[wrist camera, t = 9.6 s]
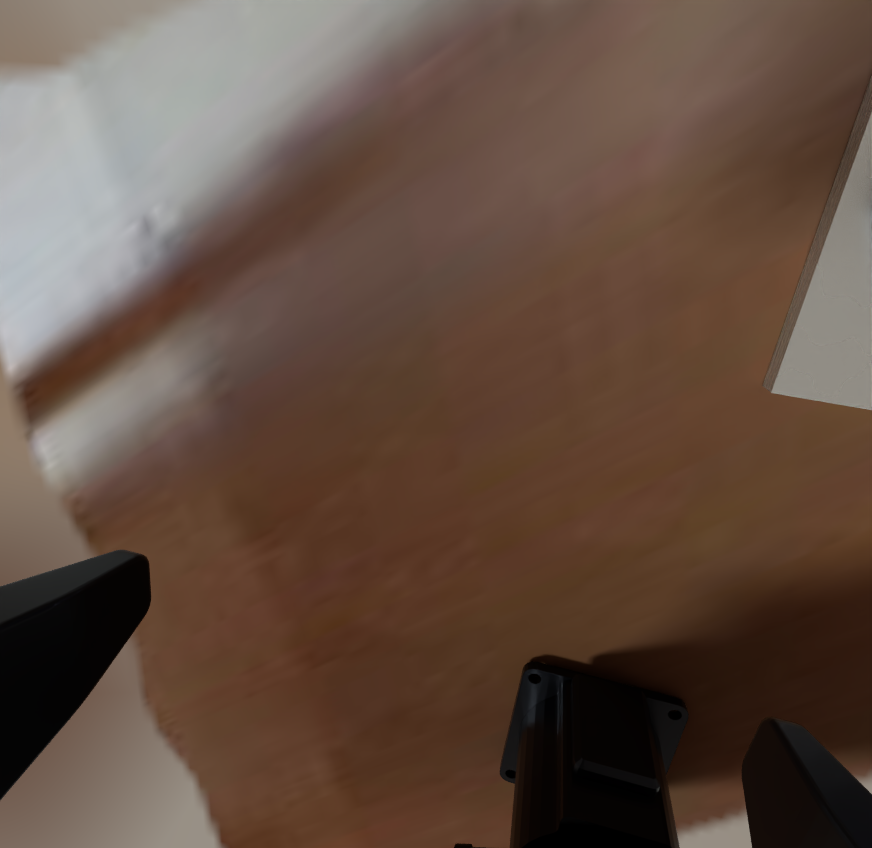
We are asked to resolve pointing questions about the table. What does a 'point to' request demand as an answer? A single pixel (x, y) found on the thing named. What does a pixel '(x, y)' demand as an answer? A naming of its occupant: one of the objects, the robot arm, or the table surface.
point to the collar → (835, 291)
